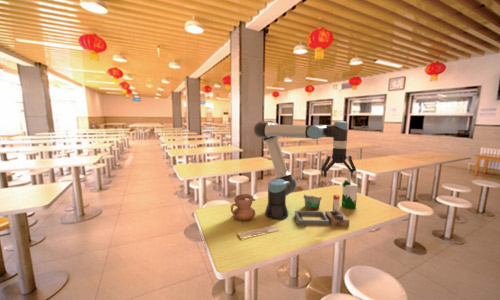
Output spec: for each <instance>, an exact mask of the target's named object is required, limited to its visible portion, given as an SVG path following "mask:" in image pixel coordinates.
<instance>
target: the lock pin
mask: <svg viewBox="0 0 500 300" xmlns="http://www.w3.org/2000/svg"><path fill="white" fill-rule="evenodd" d="M332 198H333V199H332V210H331V211H332V215H335V214H339V211H340V199H341V196H340V195H338V194H334V195H333V197H332Z"/></svg>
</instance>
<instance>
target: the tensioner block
mask: <svg viewBox="0 0 500 300" xmlns="http://www.w3.org/2000/svg"><path fill="white" fill-rule="evenodd" d="M332 211H333V210H326V211H325V212H324V214H325V216H326V217H327V218H328V220H329V226H331V227H345V228H348V227H350V220H349V218H348V217H347V215H345V214H344V212H343V211H341V210H339V214H335V215H332Z"/></svg>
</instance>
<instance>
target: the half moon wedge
mask: <svg viewBox="0 0 500 300" xmlns="http://www.w3.org/2000/svg"><path fill="white" fill-rule="evenodd" d="M303 194H304V195H303V199H304V207H305V209H307V210H308V211H310V210H311V211H319V209H320V204H321V200H322V197H321V196H319V197H317V196H314V195H306V194H305V193H303Z"/></svg>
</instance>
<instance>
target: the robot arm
mask: <svg viewBox="0 0 500 300" xmlns="http://www.w3.org/2000/svg"><path fill="white" fill-rule="evenodd" d="M348 125H349V123H348V122H347V121H334V123H333V124H314V125H313V124H311V125H310V124H309V125H307V124H306V125H305V124H278V123H277V122H275V121H272V120H264V121H262V120H261V121H258V122H256V124H254V127H253V133H254V135H255V136H256V137H258V138H259V139H263V142H264V143H266V145H267V149H268V152H269V156H270V159H271V161H272V166H273V168H274V169H273V170H274V172H275V176H274V178H273V179H270V180H269V181H268V186H267V204H266V208H265V211H264V213H265V217H267V218H268V219H270V220H275V221H281V220H285V219H287V218H288V216H289V212H288V211H289V210H288V207H287V205H286V203H287V202H286V200H287V199H286V197H287V196H288V195H290V194H292V193H293V192H295V190H296V188H297V181H296V178H295V177H293V176H292V173H291V172H290V171H288V167H287V164H286V160H285V158H284V153H283V152H282V148H281V145H280V142H279V138H281V137H282V138H297V139H300V138H301V139H312V140H318V139H322V138H332V139H333V140H332V141H333V142H332V147H333V148H332V155H329V154H328V155H326V159H325V161H324V163H323V165H322V166H321V168H320V170H321V171H322V172H323V177H324V179H325V180H324V182H325V183H326V184H327V183H329V170H330V169H331V168H332V167H333V166H334V165H335V164H343V165H344V166H345V167H346V169H347V170H348V171H347V182H349V183H351V182H352V178H353V173H354V172H357V168H356V166H355V164H354V162H353V160H352V159H353V158H352V157H353V156H352V155H347V144H348V132H349V131H348ZM346 159H347V161H348V162H347V161H346ZM330 160H331V161H330ZM348 163H349V164H348Z"/></svg>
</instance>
